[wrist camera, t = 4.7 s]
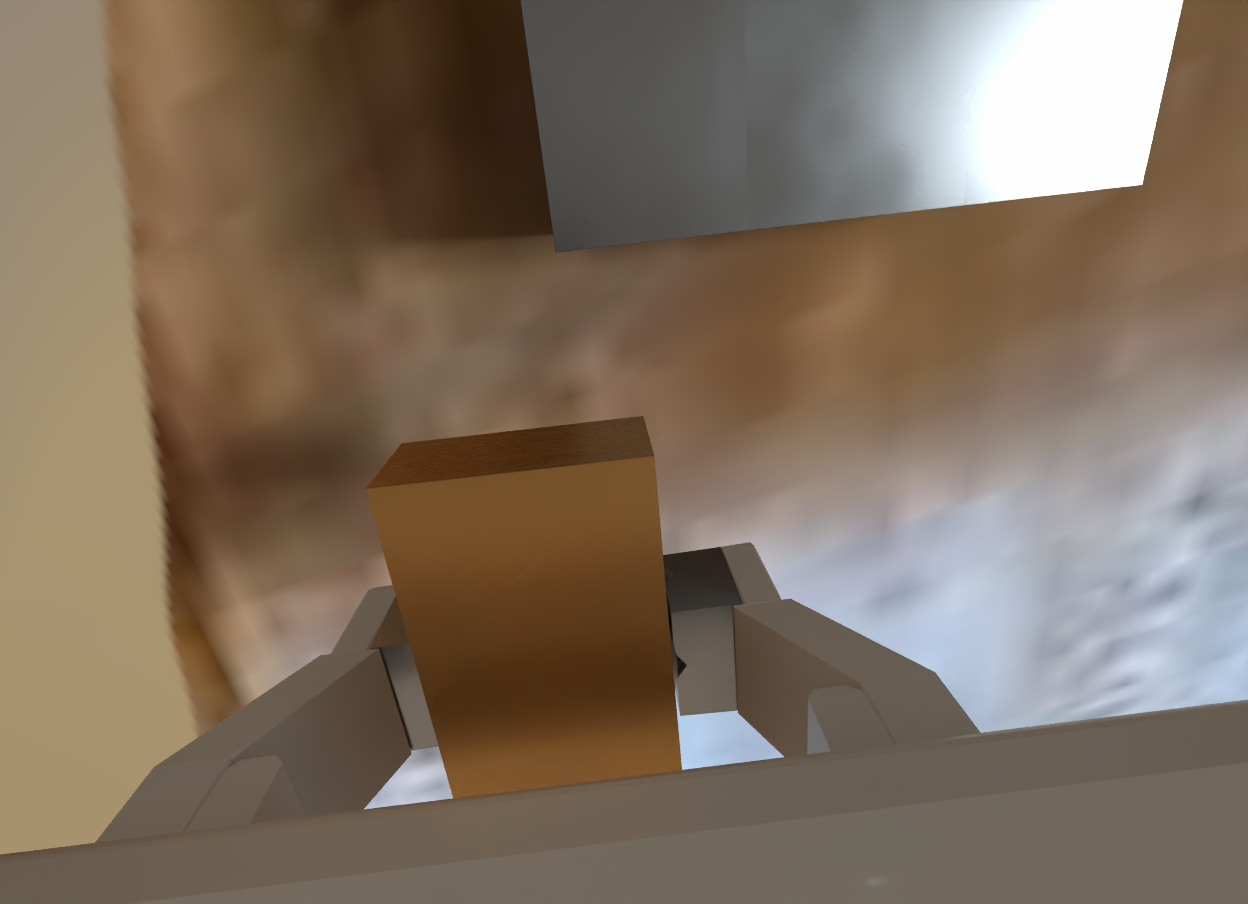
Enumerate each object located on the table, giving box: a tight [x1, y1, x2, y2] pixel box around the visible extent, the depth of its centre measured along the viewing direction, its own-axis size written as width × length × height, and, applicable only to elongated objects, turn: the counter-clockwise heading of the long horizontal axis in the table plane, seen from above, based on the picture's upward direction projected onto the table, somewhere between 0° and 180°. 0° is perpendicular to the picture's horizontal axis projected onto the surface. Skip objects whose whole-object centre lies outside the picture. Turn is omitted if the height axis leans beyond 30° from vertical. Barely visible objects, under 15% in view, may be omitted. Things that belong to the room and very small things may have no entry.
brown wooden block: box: [366, 416, 682, 798], centre depth 10 cm, size 7×3×6 cm, turn 6°
